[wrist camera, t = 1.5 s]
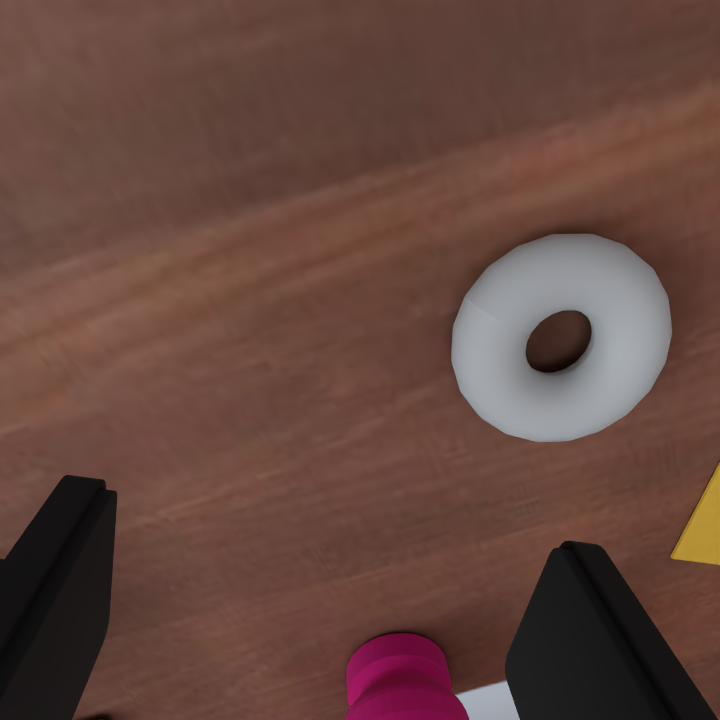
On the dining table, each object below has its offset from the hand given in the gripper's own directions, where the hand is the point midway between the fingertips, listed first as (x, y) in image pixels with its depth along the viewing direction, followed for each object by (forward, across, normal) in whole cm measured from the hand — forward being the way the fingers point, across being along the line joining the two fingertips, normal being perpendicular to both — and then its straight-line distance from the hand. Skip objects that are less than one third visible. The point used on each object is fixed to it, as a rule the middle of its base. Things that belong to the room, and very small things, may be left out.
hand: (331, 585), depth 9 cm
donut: (+18, -11, 0) cm, 21 cm away
